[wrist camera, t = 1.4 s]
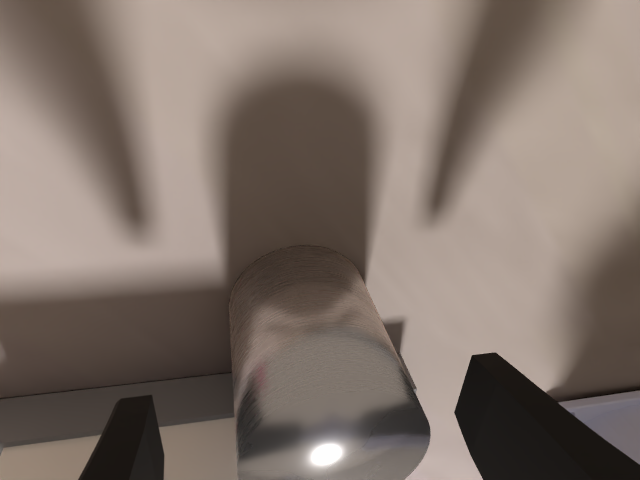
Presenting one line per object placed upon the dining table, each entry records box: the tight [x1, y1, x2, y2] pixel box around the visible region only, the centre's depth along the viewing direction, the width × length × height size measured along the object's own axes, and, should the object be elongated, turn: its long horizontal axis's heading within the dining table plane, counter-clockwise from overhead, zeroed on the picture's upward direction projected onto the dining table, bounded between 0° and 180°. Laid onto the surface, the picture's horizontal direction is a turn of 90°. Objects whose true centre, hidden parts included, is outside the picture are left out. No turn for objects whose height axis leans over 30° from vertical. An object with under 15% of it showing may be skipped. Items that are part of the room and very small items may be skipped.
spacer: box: [229, 245, 430, 480], centre depth 12 cm, size 4×4×5 cm
